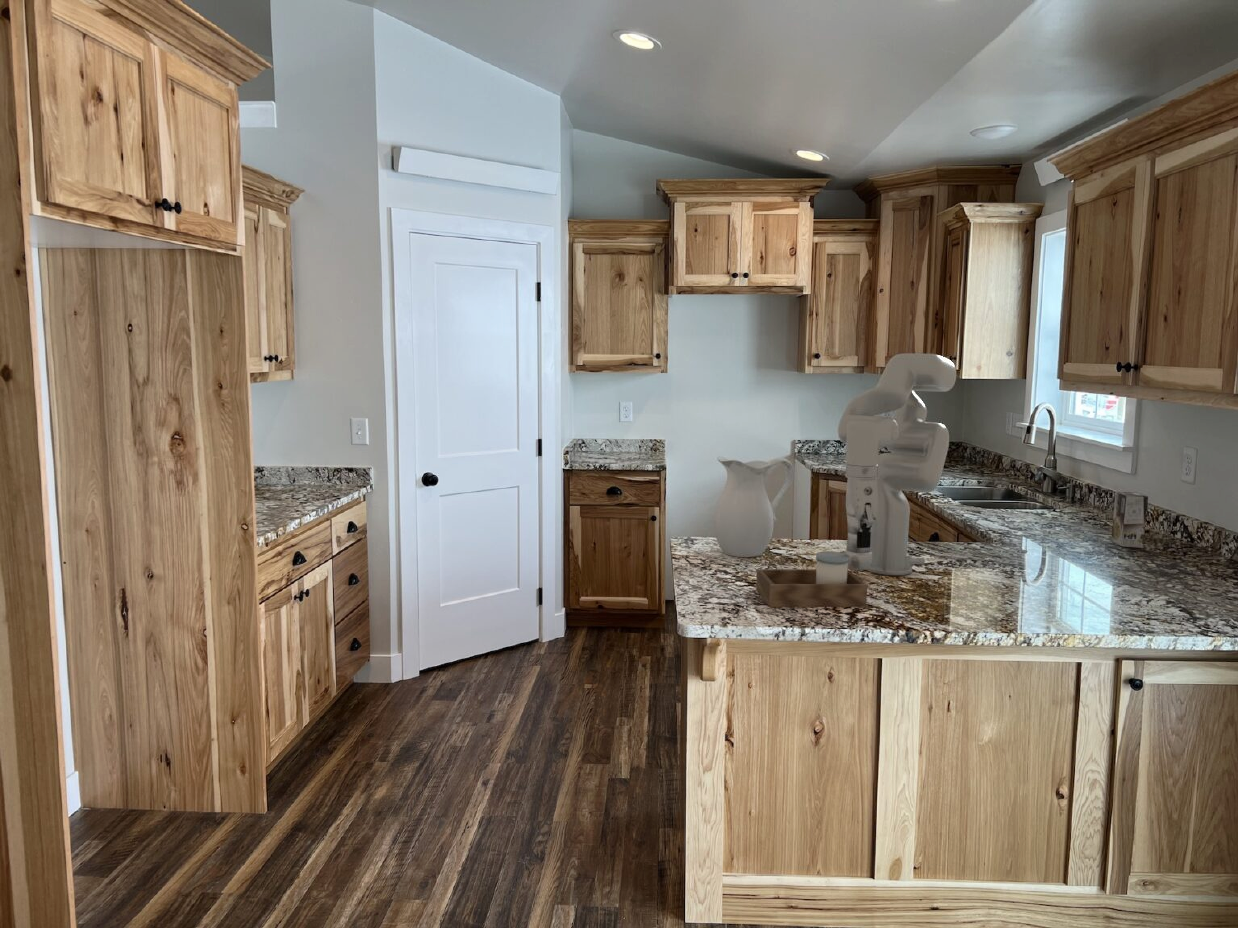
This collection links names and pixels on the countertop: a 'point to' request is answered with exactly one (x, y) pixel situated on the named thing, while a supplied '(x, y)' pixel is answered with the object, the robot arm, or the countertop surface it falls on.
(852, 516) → the grey metal bottle
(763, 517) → the pitcher
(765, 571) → the crate
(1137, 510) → the coffee box
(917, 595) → the countertop surface
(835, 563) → the jar
